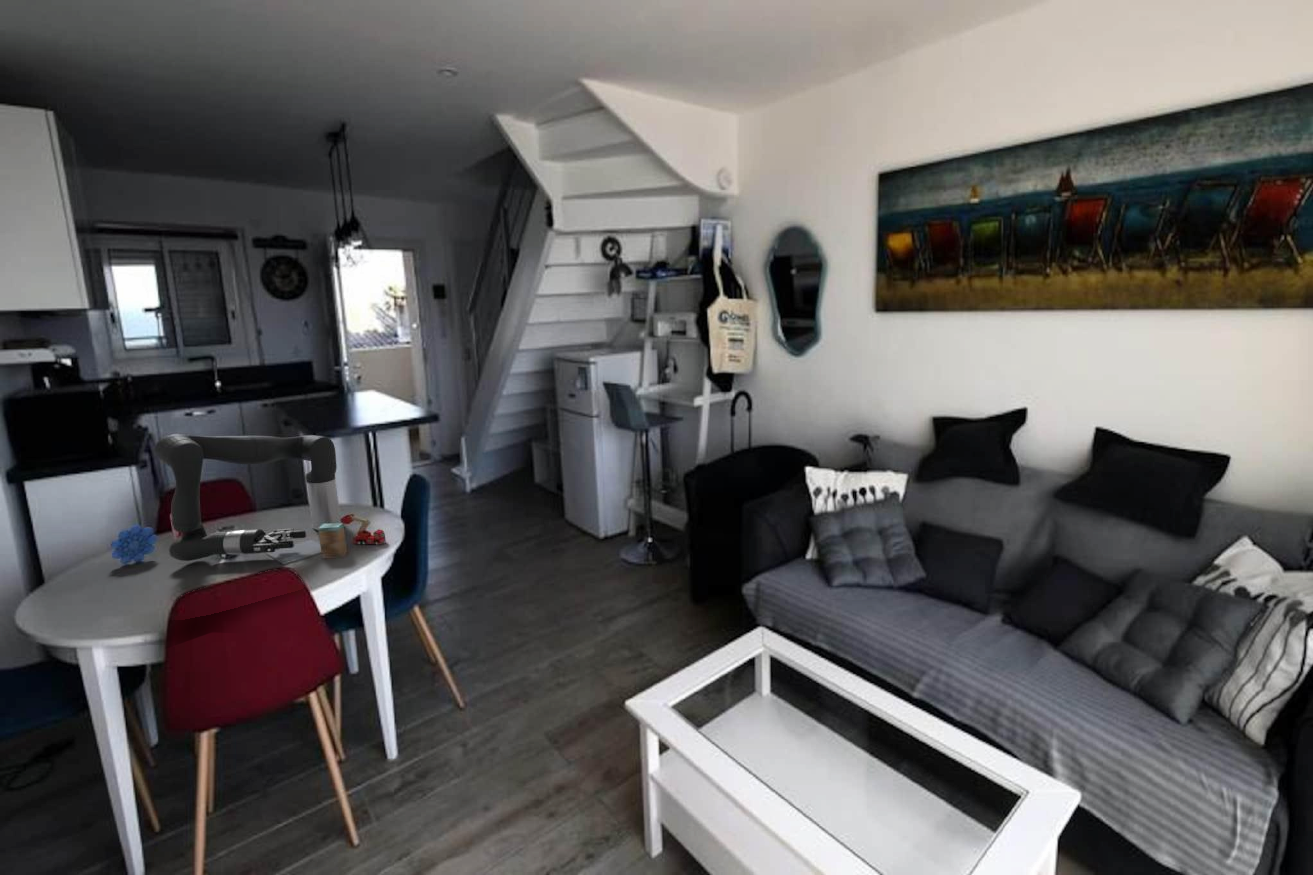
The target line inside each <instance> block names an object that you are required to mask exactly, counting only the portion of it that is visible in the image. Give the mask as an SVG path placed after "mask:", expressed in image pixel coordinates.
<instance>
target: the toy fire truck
mask: <svg viewBox="0 0 1313 875" xmlns="http://www.w3.org/2000/svg"><path fill="white" fill-rule="evenodd" d="M340 520H341V523H343V525H349V524H351V523H352V522H354V521H355V522H359V523H361V525H360V527H359V529H358V531H357V534H356V535H355V536H354V537H353V538H352V540H353V544H357V545H359V546H360V545H361V544H362V545H363V546H365V545H375V546H379V545H383V544H384V543H386V542H387V540H386V534H385V532H384V530H383V529H379V528H378V529H377V530H375V531H374V532H373V534H372V532H371V531H368V530H366V529H367V528H368V527H369V525H371V521H370V520H369V519H367V518H361V517H358V516H355V514H353V513H352V514H347V515H344V516H342V517H341V519H340Z"/></svg>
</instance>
